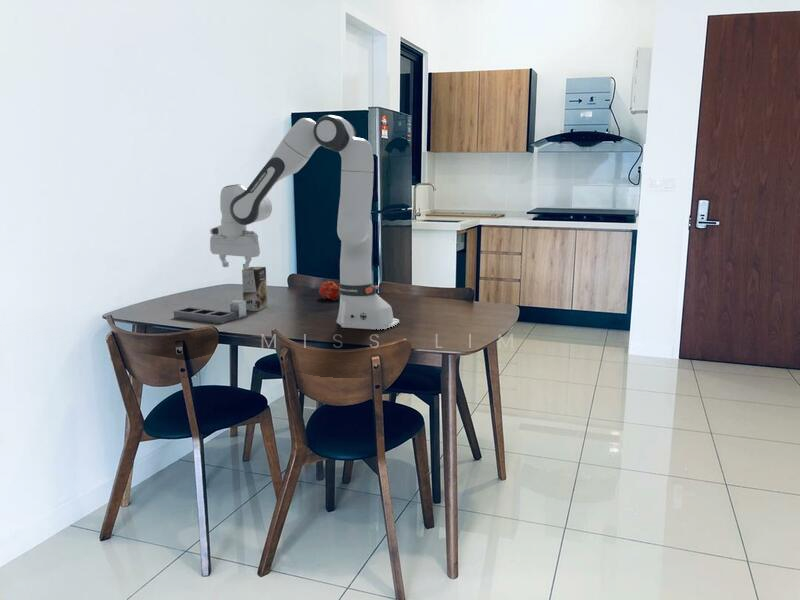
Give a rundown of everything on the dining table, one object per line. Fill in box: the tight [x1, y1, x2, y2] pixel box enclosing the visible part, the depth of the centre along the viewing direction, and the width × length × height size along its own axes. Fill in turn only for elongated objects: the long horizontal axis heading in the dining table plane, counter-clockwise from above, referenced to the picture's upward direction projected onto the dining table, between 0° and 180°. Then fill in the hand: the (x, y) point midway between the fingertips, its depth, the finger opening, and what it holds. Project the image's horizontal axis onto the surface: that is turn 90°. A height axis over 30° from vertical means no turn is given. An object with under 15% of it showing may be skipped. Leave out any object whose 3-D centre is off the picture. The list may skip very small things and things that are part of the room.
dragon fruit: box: [317, 280, 340, 301], centre depth 268 cm, size 8×8×12 cm
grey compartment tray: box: [173, 306, 237, 324], centre depth 233 cm, size 22×8×2 cm, turn 64°
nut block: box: [229, 299, 247, 318], centre depth 236 cm, size 4×4×6 cm
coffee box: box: [241, 266, 268, 312], centre depth 249 cm, size 9×6×16 cm
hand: (235, 267), depth 233 cm, fingers open, 8 cm apart
